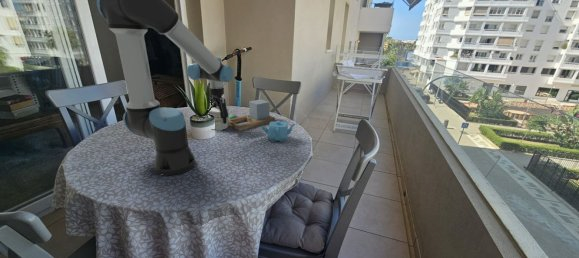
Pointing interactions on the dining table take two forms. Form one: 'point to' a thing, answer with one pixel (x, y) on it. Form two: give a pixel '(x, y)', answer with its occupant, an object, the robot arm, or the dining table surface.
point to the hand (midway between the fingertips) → (219, 125)
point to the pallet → (252, 122)
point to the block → (259, 109)
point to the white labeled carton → (218, 117)
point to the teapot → (278, 131)
